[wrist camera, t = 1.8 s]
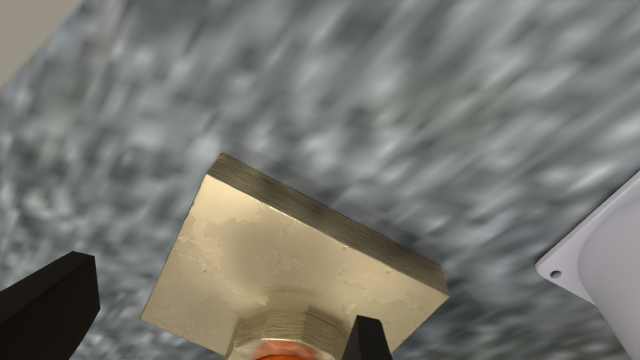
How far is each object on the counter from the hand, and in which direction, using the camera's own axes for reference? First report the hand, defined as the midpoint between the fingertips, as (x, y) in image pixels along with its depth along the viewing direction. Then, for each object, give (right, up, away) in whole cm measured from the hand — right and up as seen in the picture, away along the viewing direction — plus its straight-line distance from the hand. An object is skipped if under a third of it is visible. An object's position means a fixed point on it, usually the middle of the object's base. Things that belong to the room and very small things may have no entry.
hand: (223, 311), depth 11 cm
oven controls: (+1, -2, +12) cm, 12 cm away
